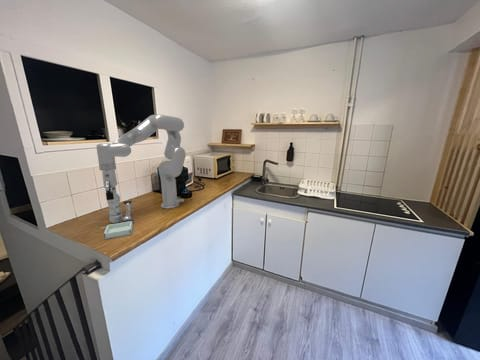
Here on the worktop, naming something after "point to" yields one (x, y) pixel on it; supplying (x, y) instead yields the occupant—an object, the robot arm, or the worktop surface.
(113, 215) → the metal bottle
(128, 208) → the crank
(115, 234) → the tray
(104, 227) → the crank base
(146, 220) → the worktop surface
